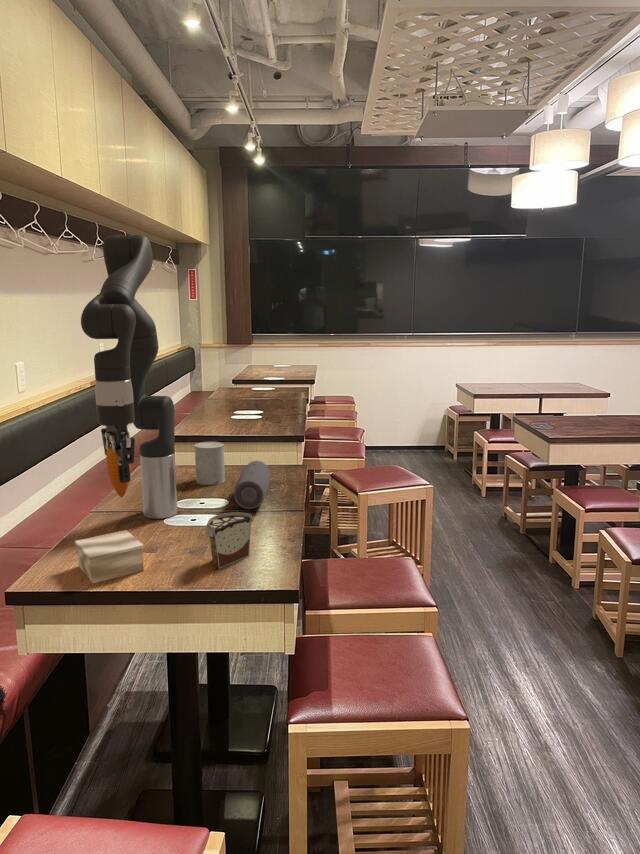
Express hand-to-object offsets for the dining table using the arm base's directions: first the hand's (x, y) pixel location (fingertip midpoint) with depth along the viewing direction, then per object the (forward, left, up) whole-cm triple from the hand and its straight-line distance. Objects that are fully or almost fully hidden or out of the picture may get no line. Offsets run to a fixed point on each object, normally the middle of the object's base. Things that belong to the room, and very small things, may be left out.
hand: (120, 478), depth 136 cm
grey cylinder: (-54, +46, -21) cm, 74 cm away
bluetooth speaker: (-27, +47, -21) cm, 58 cm away
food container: (+8, +20, -21) cm, 30 cm away
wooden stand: (-3, -3, -21) cm, 21 cm away
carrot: (0, 0, -4) cm, 4 cm away
